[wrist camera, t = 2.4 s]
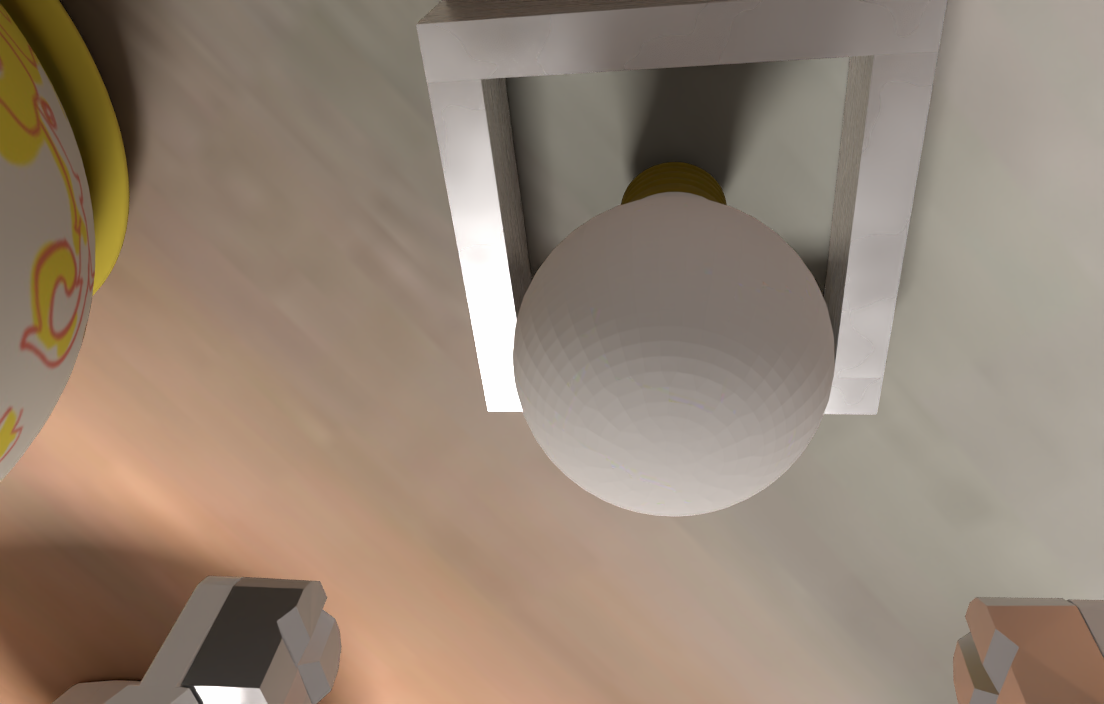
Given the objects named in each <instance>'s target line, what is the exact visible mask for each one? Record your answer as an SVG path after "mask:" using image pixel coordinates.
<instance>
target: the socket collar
mask: <svg viewBox="0 0 1104 704" xmlns="http://www.w3.org/2000/svg"><path fill="white" fill-rule="evenodd" d="M946 5H947V0H442V1H440V2H439V3H438V4H437V5H436V6H435V7H434V8H433V9H432V10H431V11H430V12H429V13H428V14H427V15H426V16H425V17H424V18H422V19H421V20H420V21H419V22H418V23H417V24H416V26H417V32H418V37H419V43H420V48H421V53H422V59H423V64H424V69H425V75H426V80H427V86H428V91H429V96H430V102H431V107H432V112H433V118H434V123H435V129H436V134H437V139H438V145H439V150H440V155H441V161H442V166H443V171H444V177H445V182H446V188H447V193H448V198H449V204H450V209H451V214H452V220H453V225H454V231H455V236H456V241H457V247H458V252H459V257H460V263H461V268H462V274H463V279H464V284H465V290H466V295H467V300H468V306H469V311H470V317H471V322H472V327H473V333H474V338H475V343H476V349H477V354H478V359H479V365H480V370H481V376H482V381H483V386H484V392H485V397H486V402H487V408H488V411H522V408H521V405H520V401H519V398H518V395H517V391H516V387H515V380H514V371H513V358H512V355H513V343H514V332H515V326H516V321H517V318H518V314H519V311H520V307H521V304H522V301H523V298H524V296H525V293H526V292H527V290H528V288H529V286H530V284H531V282H532V279H531V271H530V264H529V256H528V248H527V241H526V233H525V225H524V218H523V210H522V203H521V195H520V187H519V180H518V172H517V164H516V157H515V149H514V141H513V134H512V126H511V118H510V111H509V103H508V95H507V88H506V80H505V78H509V77H525V76H541V75H558V74H574V73H590V72H607V71H623V70H640V69H656V68H672V67H689V66H705V65H721V64H738V63H754V62H770V61H787V60H803V59H819V58H836V57H850V62H849V72H848V81H847V90H846V99H845V108H844V117H843V126H842V135H841V145H840V154H839V163H838V172H837V181H836V190H835V199H834V208H833V217H832V227H831V236H830V245H829V254H828V263H827V272H826V281H825V290H824V300H825V303H826V306H827V308H828V313H829V317H830V321H831V326H832V330H833V335H834V360H835V367H834V376H833V382H832V387H831V393H830V397H829V401H828V404H827V407H826V409H825V412H824V414H877V411H878V405H879V399H880V393H881V387H882V381H883V376H884V370H885V364H886V358H887V352H888V346H889V340H890V334H891V329H892V323H893V317H894V311H895V305H896V299H897V293H898V287H899V282H900V276H901V270H902V264H903V258H904V252H905V246H906V240H907V235H908V229H909V223H910V217H911V211H912V205H913V199H914V193H915V188H916V182H917V176H918V170H919V164H920V158H921V152H922V146H923V141H924V135H925V129H926V123H927V117H928V111H929V105H930V99H931V94H932V88H933V82H934V76H935V70H936V64H937V58H938V52H939V47H940V41H941V35H942V29H943V23H944V17H945V11H946Z"/></svg>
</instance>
